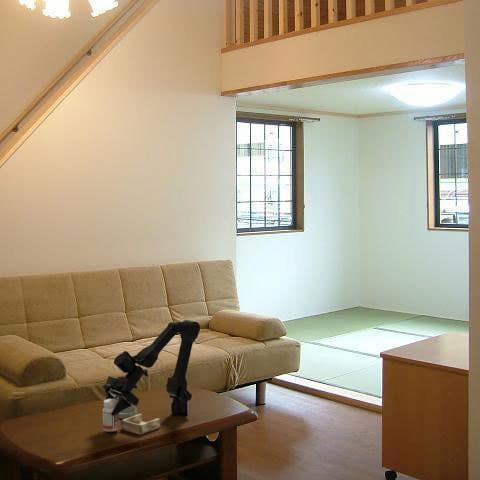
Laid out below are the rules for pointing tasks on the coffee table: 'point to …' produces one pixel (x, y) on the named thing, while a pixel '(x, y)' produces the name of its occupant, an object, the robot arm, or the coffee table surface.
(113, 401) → the pill bottle
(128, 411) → the wristwatch
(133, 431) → the open tray
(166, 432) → the coffee table surface
